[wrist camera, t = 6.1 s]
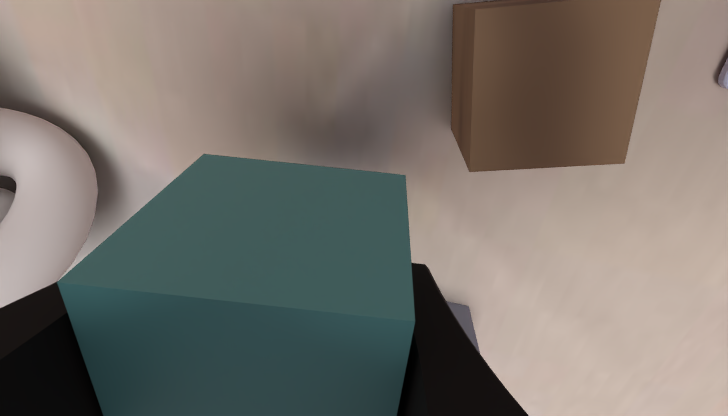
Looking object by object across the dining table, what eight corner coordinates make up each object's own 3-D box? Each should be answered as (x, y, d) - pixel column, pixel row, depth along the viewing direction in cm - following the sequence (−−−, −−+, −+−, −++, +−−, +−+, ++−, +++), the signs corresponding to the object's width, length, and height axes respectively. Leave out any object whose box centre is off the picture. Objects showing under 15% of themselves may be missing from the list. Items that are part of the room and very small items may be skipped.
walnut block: (586, -9, 15) (662, -8, 11) (566, 120, 18) (624, 163, 13) (452, 4, 16) (475, 9, 12) (451, 128, 18) (469, 171, 14)
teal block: (405, 175, 10) (415, 321, 6) (383, 325, 12) (377, 510, 8) (204, 154, 10) (56, 282, 6) (220, 307, 12) (126, 481, 8)
